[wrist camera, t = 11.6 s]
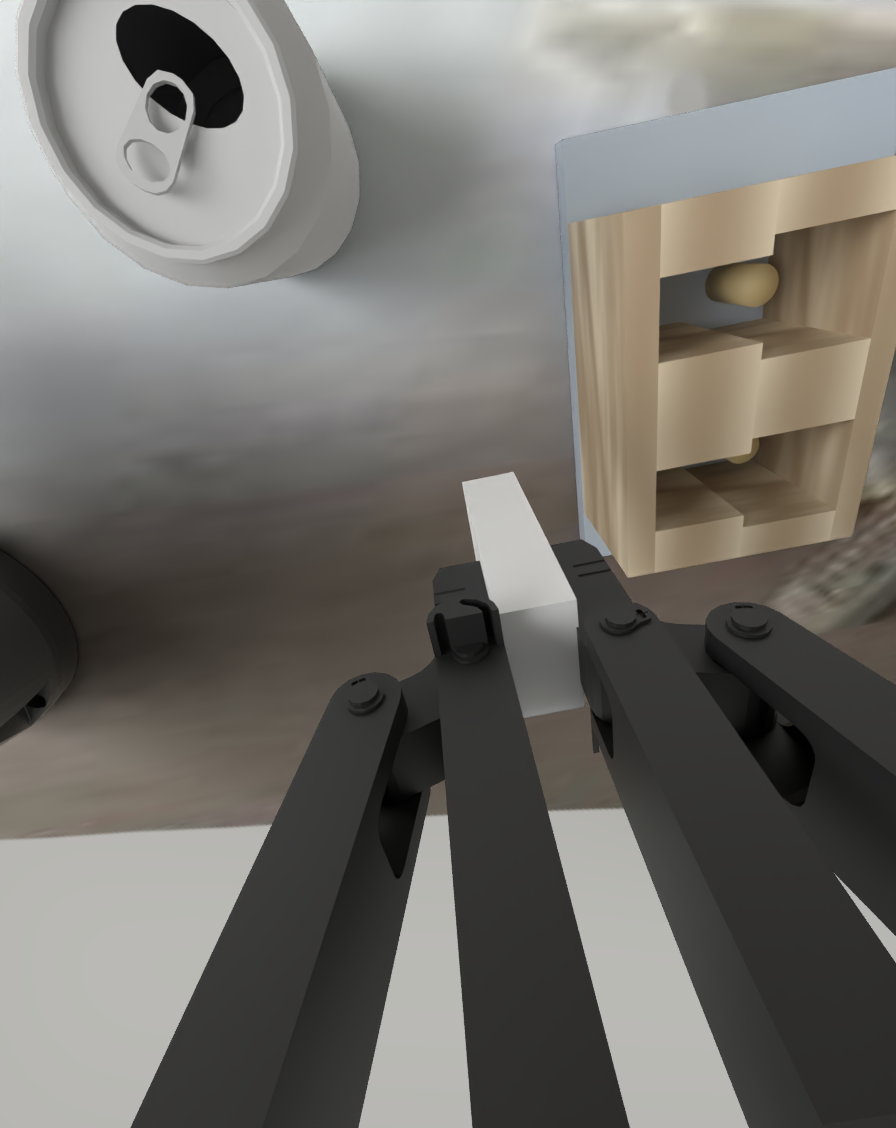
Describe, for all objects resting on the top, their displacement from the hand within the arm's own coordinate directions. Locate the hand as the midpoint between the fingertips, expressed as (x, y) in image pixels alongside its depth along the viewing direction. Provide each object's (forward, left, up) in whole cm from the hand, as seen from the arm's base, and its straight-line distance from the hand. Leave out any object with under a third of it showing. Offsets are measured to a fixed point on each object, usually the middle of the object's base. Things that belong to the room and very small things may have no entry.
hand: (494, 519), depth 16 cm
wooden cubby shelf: (+11, 0, -13) cm, 17 cm away
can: (-6, +11, -14) cm, 19 cm away
